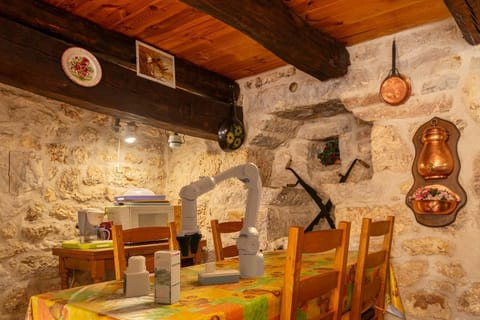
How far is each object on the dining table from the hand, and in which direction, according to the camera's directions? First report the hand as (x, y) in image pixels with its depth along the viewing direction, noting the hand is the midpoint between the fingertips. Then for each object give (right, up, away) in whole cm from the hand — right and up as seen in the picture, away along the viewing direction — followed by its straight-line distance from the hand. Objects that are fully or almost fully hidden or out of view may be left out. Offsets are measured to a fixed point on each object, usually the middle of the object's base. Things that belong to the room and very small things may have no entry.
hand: (189, 255), depth 139 cm
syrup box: (-3, -7, -29) cm, 30 cm away
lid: (+11, -6, -2) cm, 12 cm away
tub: (+11, -9, -2) cm, 14 cm away
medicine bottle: (-15, -8, -18) cm, 25 cm away
